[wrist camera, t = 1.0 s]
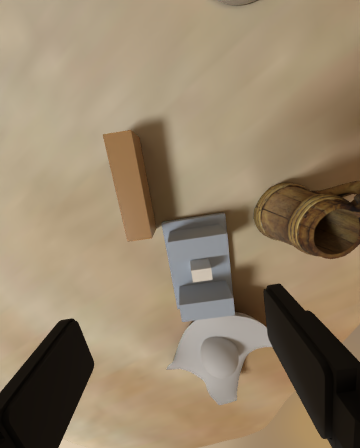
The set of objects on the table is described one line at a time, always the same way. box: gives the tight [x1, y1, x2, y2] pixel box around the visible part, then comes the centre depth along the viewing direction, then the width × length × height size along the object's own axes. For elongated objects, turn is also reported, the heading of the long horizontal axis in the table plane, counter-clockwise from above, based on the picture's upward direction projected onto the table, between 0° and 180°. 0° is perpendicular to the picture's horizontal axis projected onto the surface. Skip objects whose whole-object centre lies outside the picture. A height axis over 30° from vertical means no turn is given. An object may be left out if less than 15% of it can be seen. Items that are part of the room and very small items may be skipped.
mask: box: [166, 312, 272, 405], centre depth 34 cm, size 20×8×15 cm
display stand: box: [162, 212, 235, 322], centre depth 29 cm, size 16×10×6 cm, turn 9°
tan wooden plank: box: [103, 130, 156, 242], centre depth 27 cm, size 14×4×5 cm, turn 8°
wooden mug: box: [254, 181, 360, 259], centre depth 21 cm, size 9×14×18 cm, turn 138°
